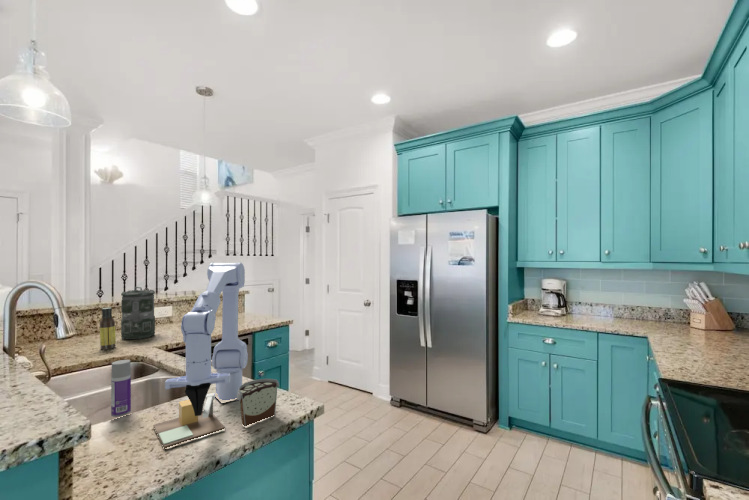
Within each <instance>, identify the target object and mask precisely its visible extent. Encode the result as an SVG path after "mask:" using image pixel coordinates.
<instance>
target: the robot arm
mask: <svg viewBox="0 0 749 500" xmlns="http://www.w3.org/2000/svg"><path fill="white" fill-rule="evenodd" d="M245 273H246V272H245V266H244V263H242V262H241V261H239V262H210V263H209V265H208V266H207V272H206V275H207V279H208V284H207V287H206V289H205V291H203V292H201V293H199V295H198V297H197V298H196V301H195V302H194V304H193V307H191V308H192V309H191V310H190V311H188V312H187V313H185V314H184V315H183V316H182V319H181V325H180V330H181V334H182V340H183V344H184V343H185V375H183V376H177V377H172V378H167V379H166V380H165V381H164V389H165V390H170V389H174V388H184V387H185V390H184V392H185V395H186V396H187V398H188V400H190V402H191V404H192V406H193V409H194V413H195V416H200V415H201V414H202V412H203V411H204V406H205V401H206V395H207V394H208V391H209V389H210V387H211V385H215V393H217V394H218V397H219V399H222V400H230V399H235V398H237V393H238V390H239V387H240V386H241V385H243V369H245V368H246V367H247V365H248V358H249V356H248V355H249V354H248V345H247V343H246V342H245V341H242V340H241V339H240V338H239V292H240V289H242V288H244V286H245V277H246V276H245ZM221 293H222V299H221V297H220V295H221ZM221 300H222V314H221V315H222V316H221V317H222V321H221V322H222V326H221V328H222V329H221V330H222V331H221V332H222V333H221V335H222V336H221V341H219V342H218V343H217V344H216V345H215V346H214V348H213V353H212V334H213V332H214V331H215V325H216V324H215V323H216V320H217V317H216V314H217V311H218V310H219V306H220V304H221ZM212 368H213V369H214V370H216V372H212Z"/></svg>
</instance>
